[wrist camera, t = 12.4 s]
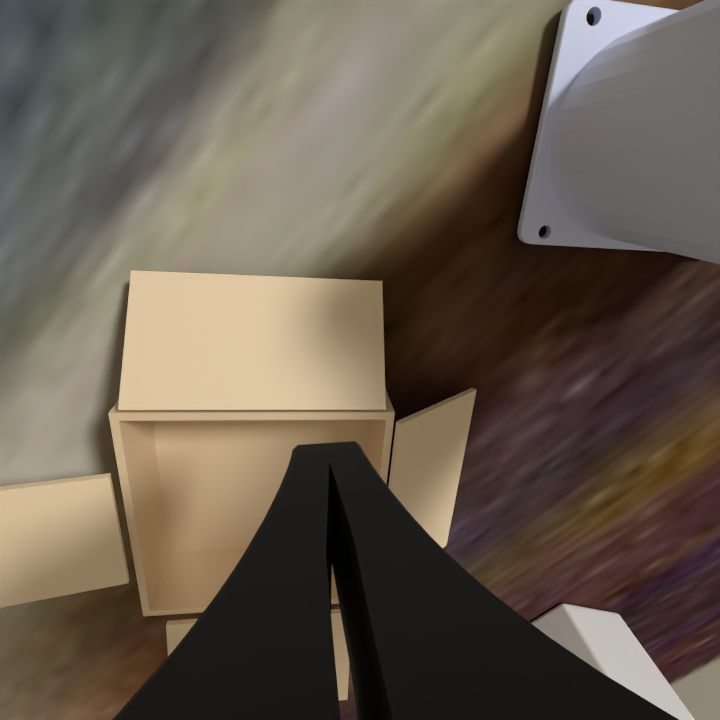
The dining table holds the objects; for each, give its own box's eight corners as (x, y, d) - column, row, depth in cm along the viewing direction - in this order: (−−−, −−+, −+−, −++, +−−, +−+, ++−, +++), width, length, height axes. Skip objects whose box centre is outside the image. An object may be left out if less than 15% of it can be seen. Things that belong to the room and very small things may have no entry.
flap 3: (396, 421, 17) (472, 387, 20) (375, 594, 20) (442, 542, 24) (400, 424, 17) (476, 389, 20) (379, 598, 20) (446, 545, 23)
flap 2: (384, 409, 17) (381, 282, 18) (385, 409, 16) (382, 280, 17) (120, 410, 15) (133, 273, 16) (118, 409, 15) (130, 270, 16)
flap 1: (109, 477, 16) (-67, 498, 14) (128, 583, 18) (-24, 612, 16) (110, 473, 16) (-63, 494, 14) (129, 578, 18) (-21, 606, 16)
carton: (379, 373, 20) (394, 412, 17) (362, 542, 24) (372, 601, 20) (141, 370, 18) (108, 413, 15) (165, 551, 22) (143, 616, 19)
